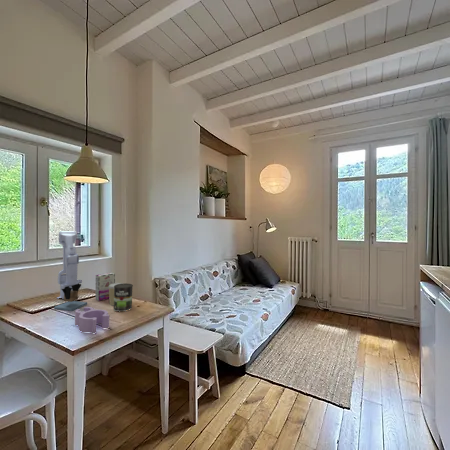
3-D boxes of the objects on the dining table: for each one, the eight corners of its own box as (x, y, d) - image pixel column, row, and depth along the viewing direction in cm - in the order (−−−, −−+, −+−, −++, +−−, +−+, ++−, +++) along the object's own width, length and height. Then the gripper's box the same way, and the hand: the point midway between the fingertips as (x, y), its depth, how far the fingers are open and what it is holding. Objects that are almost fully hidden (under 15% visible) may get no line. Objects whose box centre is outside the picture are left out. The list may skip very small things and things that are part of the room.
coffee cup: (127, 303, 161) (127, 284, 161) (113, 307, 153) (114, 287, 153) (118, 300, 166) (119, 282, 166) (105, 304, 159) (105, 284, 158)
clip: (67, 325, 127) (68, 311, 127) (92, 317, 137) (93, 305, 137) (88, 336, 116) (88, 321, 116) (113, 327, 126) (114, 313, 126)
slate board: (70, 302, 159) (70, 300, 159) (87, 304, 157) (87, 302, 157) (54, 309, 147) (54, 307, 147) (72, 311, 145) (72, 309, 145)
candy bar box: (111, 295, 175) (111, 272, 175) (115, 297, 172) (115, 273, 172) (94, 299, 166) (95, 274, 166) (98, 301, 163) (99, 276, 163)
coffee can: (130, 311, 147) (131, 287, 147) (111, 312, 145) (112, 288, 145) (133, 305, 157) (134, 283, 157) (115, 306, 155) (116, 283, 155)
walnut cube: (70, 298, 155) (70, 290, 155) (77, 299, 154) (77, 291, 154) (64, 301, 150) (64, 292, 150) (71, 301, 149) (71, 293, 149)
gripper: (68, 278, 144) (67, 302, 144) (86, 273, 158) (85, 294, 158) (57, 277, 145) (56, 300, 145) (76, 272, 159) (76, 293, 160)
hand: (71, 297), depth 152 cm, fingers closed on walnut cube, 5 cm apart
